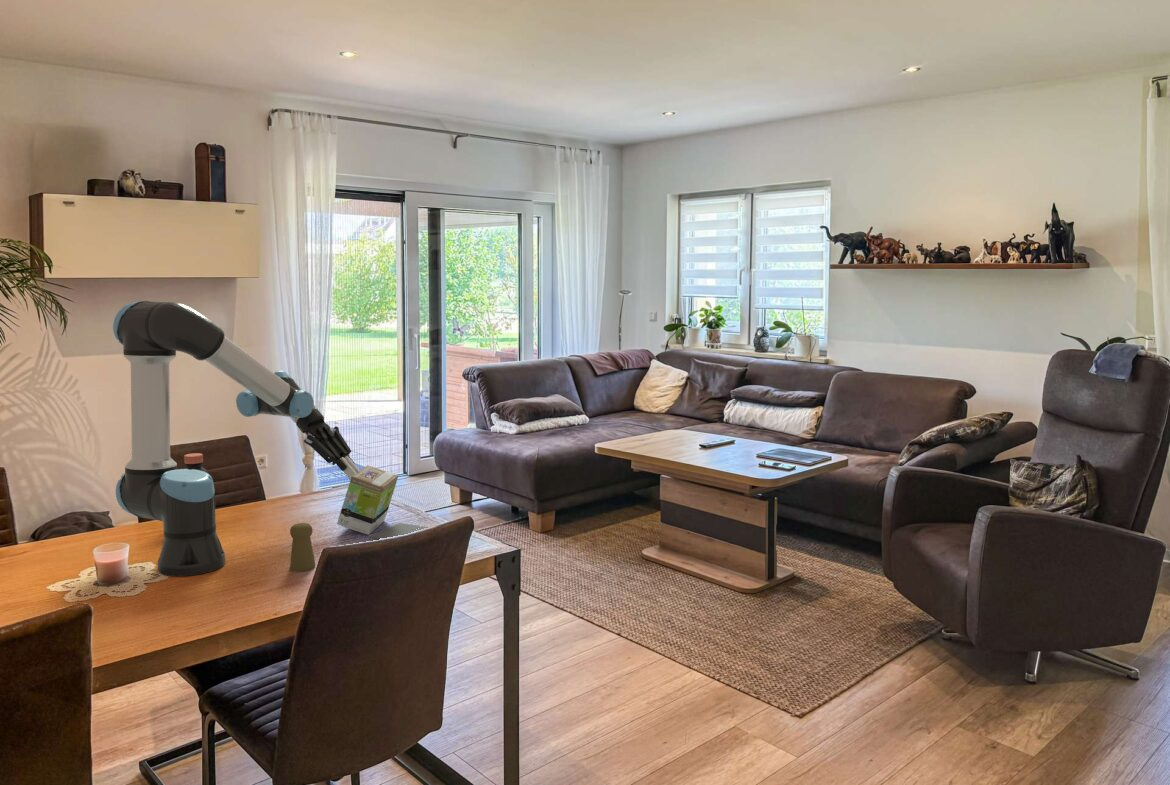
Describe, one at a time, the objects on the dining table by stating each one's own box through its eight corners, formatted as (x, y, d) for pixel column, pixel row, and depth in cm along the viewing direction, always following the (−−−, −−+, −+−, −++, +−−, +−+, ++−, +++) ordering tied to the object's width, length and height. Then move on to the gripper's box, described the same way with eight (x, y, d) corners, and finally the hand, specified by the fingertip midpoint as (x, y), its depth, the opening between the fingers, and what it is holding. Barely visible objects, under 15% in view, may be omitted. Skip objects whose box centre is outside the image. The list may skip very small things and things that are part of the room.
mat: (398, 543, 229) (398, 540, 229) (368, 538, 233) (368, 536, 233) (428, 529, 242) (428, 527, 242) (399, 524, 246) (399, 522, 246)
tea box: (370, 536, 235) (384, 486, 233) (335, 525, 235) (349, 475, 233) (385, 520, 250) (399, 474, 248) (353, 510, 250) (366, 463, 248)
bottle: (214, 519, 250) (210, 452, 247) (201, 526, 243) (198, 457, 241) (192, 518, 251) (188, 452, 248) (179, 525, 244) (175, 456, 241)
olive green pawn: (288, 572, 206) (287, 528, 204) (290, 564, 211) (288, 521, 210) (315, 570, 207) (313, 526, 206) (316, 562, 213) (314, 519, 212)
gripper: (315, 419, 256) (364, 477, 253) (282, 429, 243) (333, 491, 240) (328, 403, 253) (378, 462, 249) (295, 412, 240) (347, 474, 237)
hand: (356, 476), depth 245 cm, fingers closed
